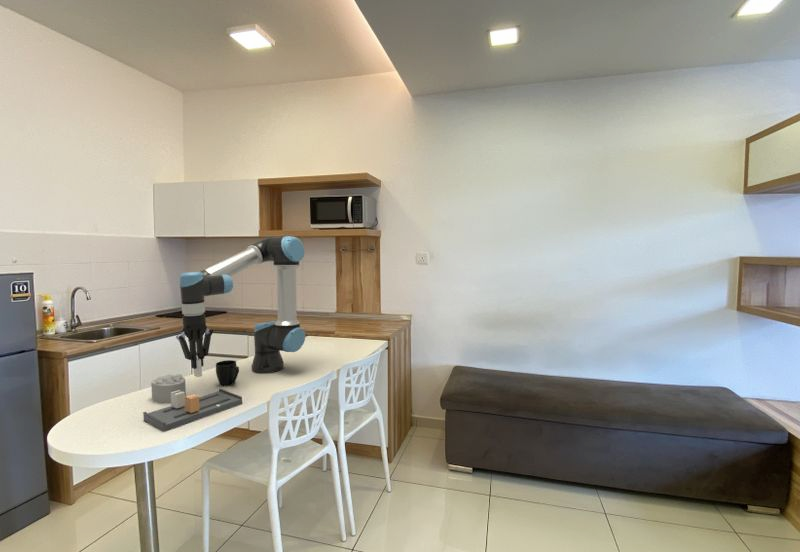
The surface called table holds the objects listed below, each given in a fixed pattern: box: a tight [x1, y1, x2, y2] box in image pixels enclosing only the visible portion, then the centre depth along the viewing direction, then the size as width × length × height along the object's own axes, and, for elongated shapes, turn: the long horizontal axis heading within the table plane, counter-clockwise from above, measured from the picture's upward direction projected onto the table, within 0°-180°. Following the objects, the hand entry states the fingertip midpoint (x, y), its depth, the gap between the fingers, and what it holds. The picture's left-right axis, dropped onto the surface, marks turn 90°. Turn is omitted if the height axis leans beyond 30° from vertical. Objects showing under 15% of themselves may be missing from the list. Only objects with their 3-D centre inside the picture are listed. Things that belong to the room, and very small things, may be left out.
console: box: [142, 388, 243, 433], centre depth 143 cm, size 28×15×3 cm, turn 145°
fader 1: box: [170, 390, 185, 408], centre depth 142 cm, size 3×4×5 cm
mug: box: [215, 359, 240, 387], centre depth 171 cm, size 8×12×10 cm
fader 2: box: [185, 393, 200, 413], centre depth 138 cm, size 3×4×5 cm
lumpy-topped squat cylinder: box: [150, 373, 187, 405], centre depth 156 cm, size 10×13×9 cm
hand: (198, 375), depth 148 cm, fingers closed
